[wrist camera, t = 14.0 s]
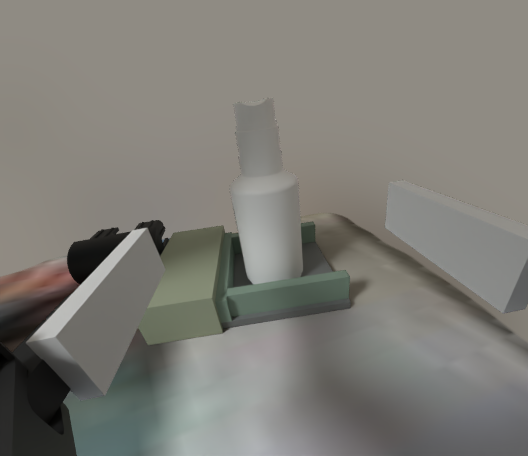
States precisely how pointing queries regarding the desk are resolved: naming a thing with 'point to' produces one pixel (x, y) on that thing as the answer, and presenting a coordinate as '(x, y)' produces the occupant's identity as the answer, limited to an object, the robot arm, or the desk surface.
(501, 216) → the robot arm
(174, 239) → the chute bracket
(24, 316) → the desk surface
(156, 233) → the end cap
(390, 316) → the desk surface
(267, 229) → the spray bottle
